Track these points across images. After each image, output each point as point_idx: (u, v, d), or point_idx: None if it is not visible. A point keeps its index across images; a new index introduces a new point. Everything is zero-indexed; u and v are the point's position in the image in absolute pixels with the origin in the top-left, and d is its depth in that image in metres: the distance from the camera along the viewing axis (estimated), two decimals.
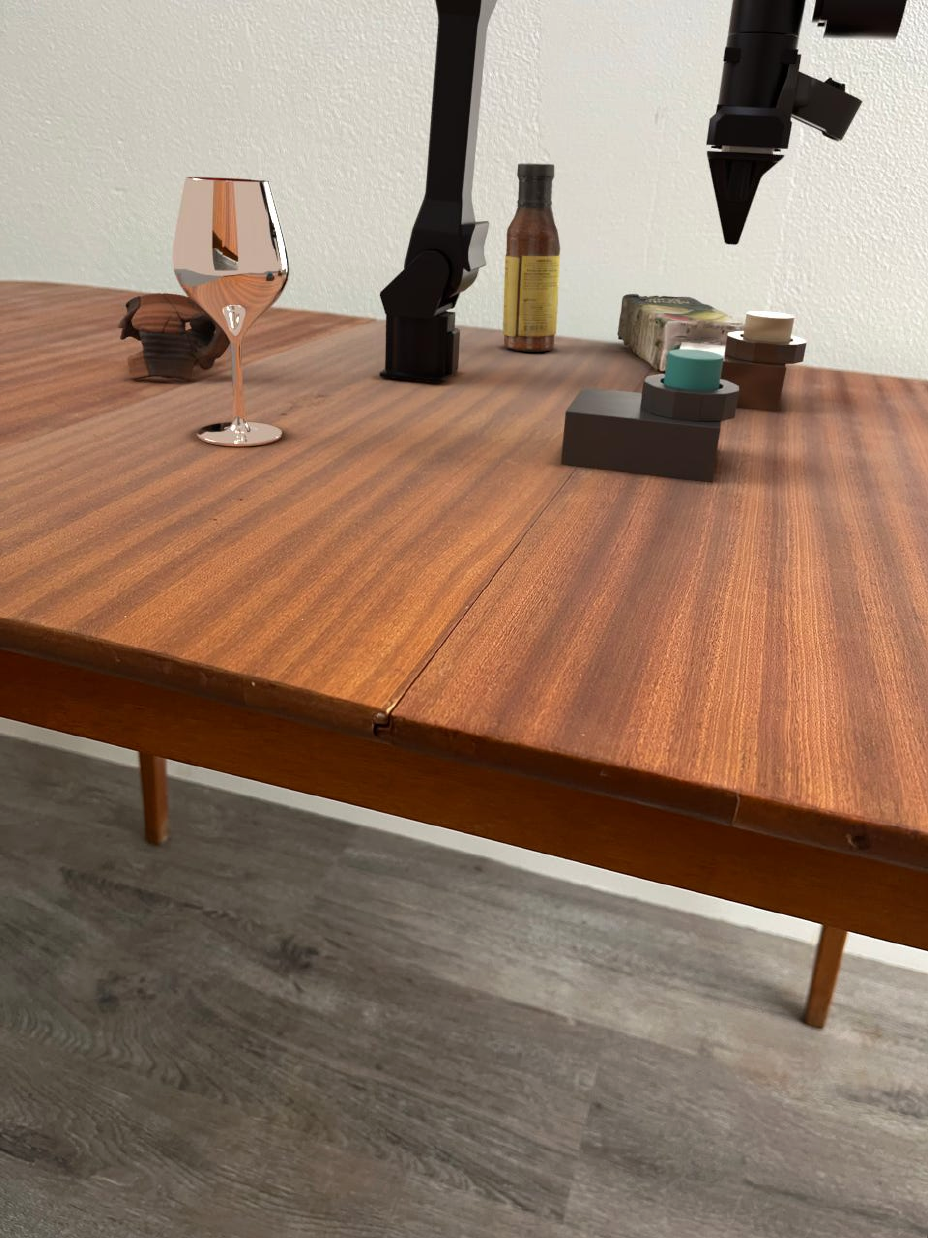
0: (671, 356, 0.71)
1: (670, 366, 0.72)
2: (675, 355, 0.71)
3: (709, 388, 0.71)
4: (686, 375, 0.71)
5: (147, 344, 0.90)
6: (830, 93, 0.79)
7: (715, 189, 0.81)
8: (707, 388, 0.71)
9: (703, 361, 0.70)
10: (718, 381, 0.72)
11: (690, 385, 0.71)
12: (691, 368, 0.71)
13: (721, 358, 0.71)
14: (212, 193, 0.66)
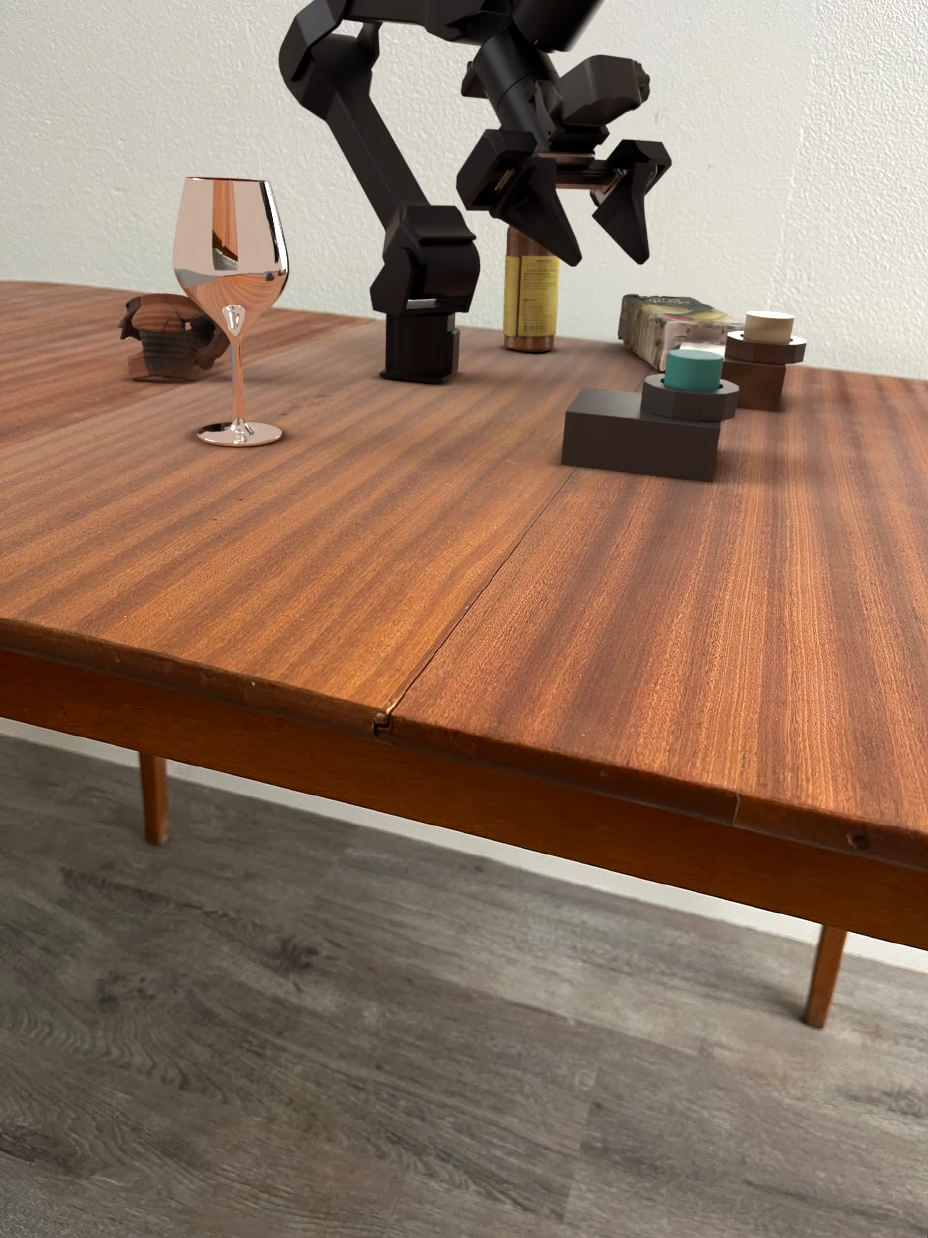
0: (671, 356, 0.71)
1: (670, 366, 0.72)
2: (675, 355, 0.71)
3: (709, 388, 0.71)
4: (686, 375, 0.71)
5: (147, 344, 0.90)
6: (569, 78, 0.73)
7: (526, 234, 0.76)
8: (707, 388, 0.71)
9: (703, 361, 0.70)
10: (718, 381, 0.72)
11: (690, 385, 0.71)
12: (691, 368, 0.71)
13: (721, 358, 0.71)
14: (211, 193, 0.66)
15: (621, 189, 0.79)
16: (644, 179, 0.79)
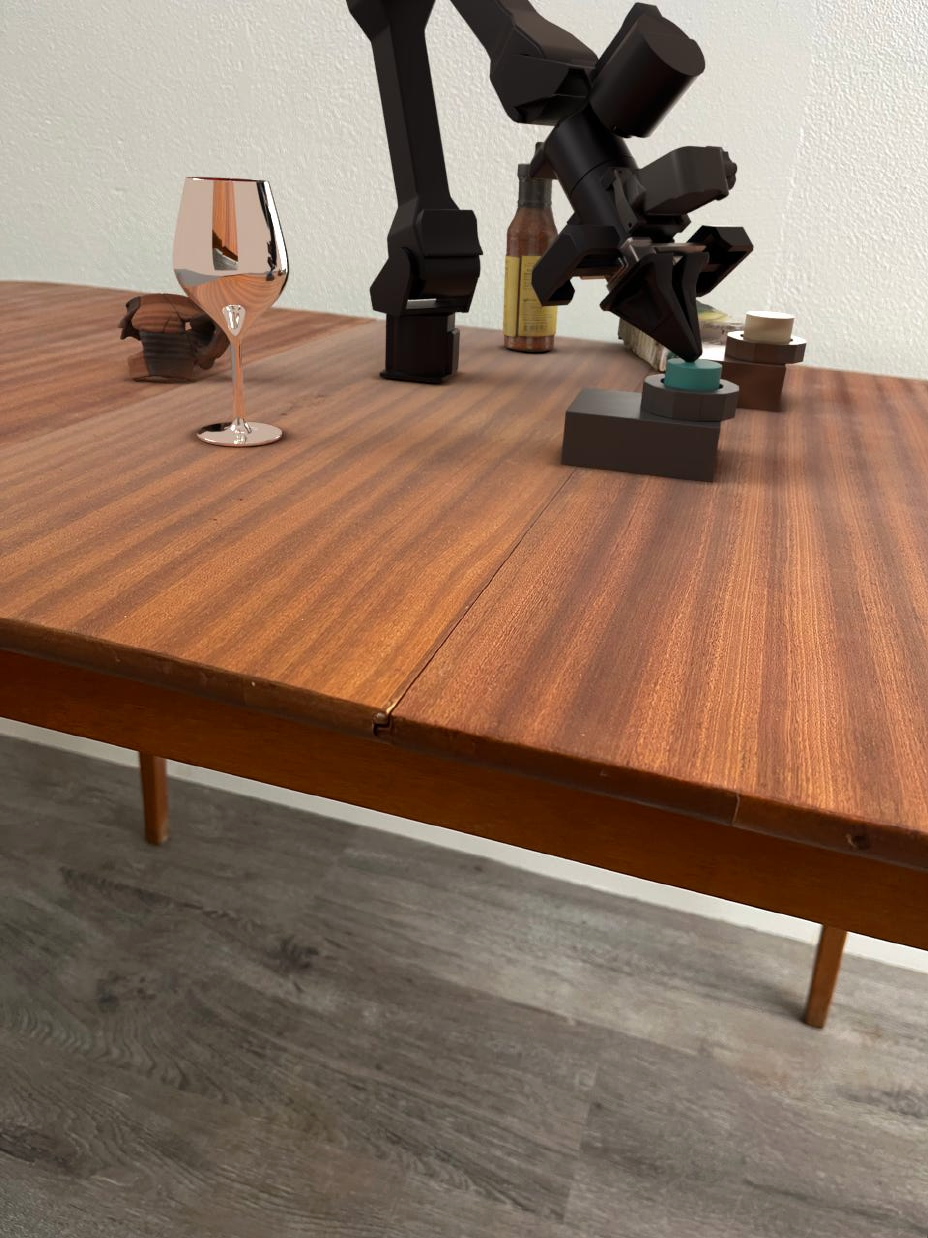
0: (670, 365, 0.72)
1: (669, 375, 0.72)
2: (674, 364, 0.72)
3: None
4: (685, 384, 0.71)
5: (147, 344, 0.90)
6: (653, 169, 0.68)
7: (638, 328, 0.74)
8: None
9: (701, 370, 0.71)
10: None
11: None
12: (690, 377, 0.71)
13: (720, 367, 0.71)
14: (211, 193, 0.66)
15: None
16: (696, 269, 0.73)
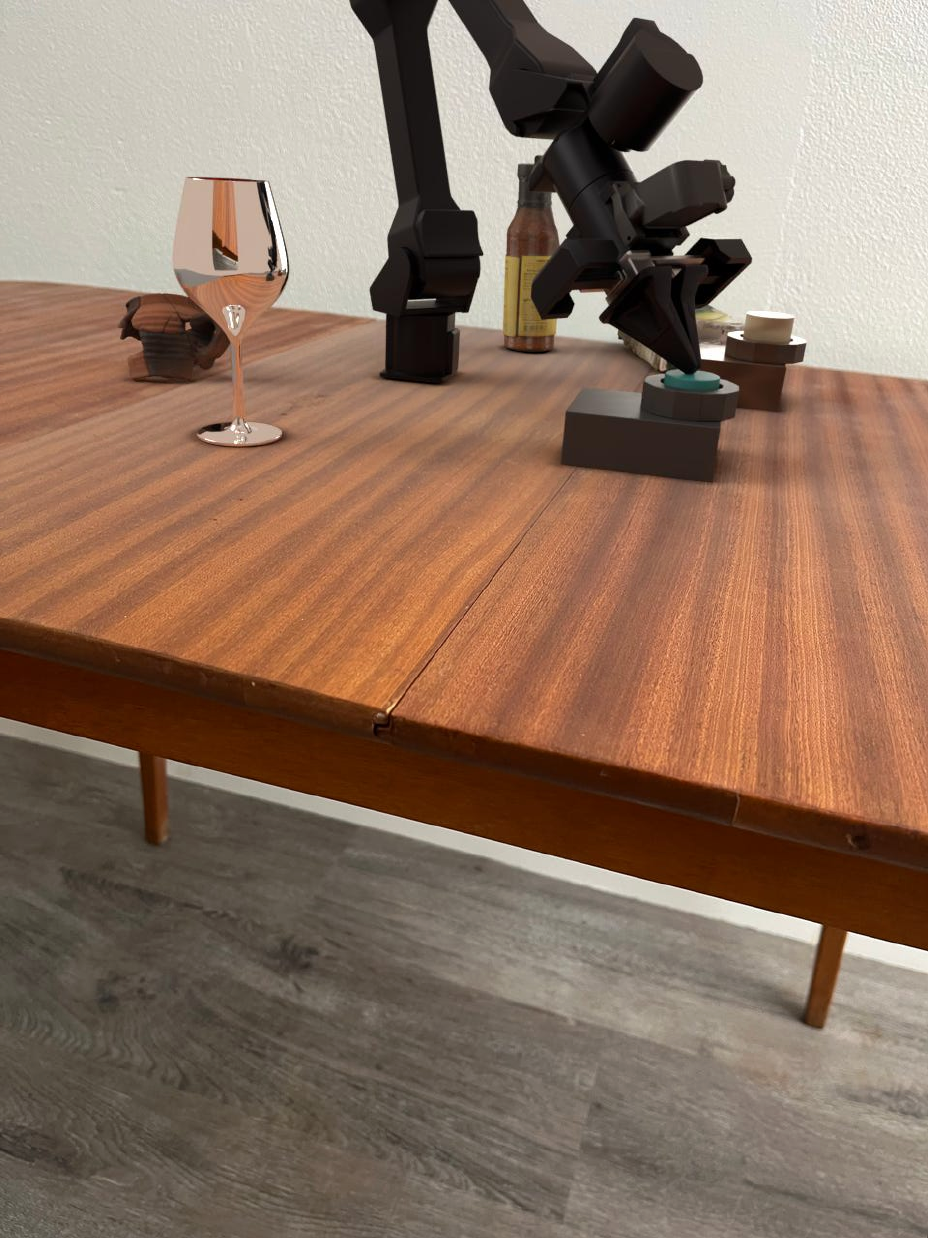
0: (668, 377, 0.72)
1: None
2: (672, 376, 0.72)
3: None
4: None
5: (147, 344, 0.90)
6: (652, 183, 0.69)
7: (638, 340, 0.74)
8: None
9: (700, 382, 0.71)
10: None
11: None
12: None
13: (718, 379, 0.72)
14: (211, 193, 0.66)
15: None
16: (694, 281, 0.73)
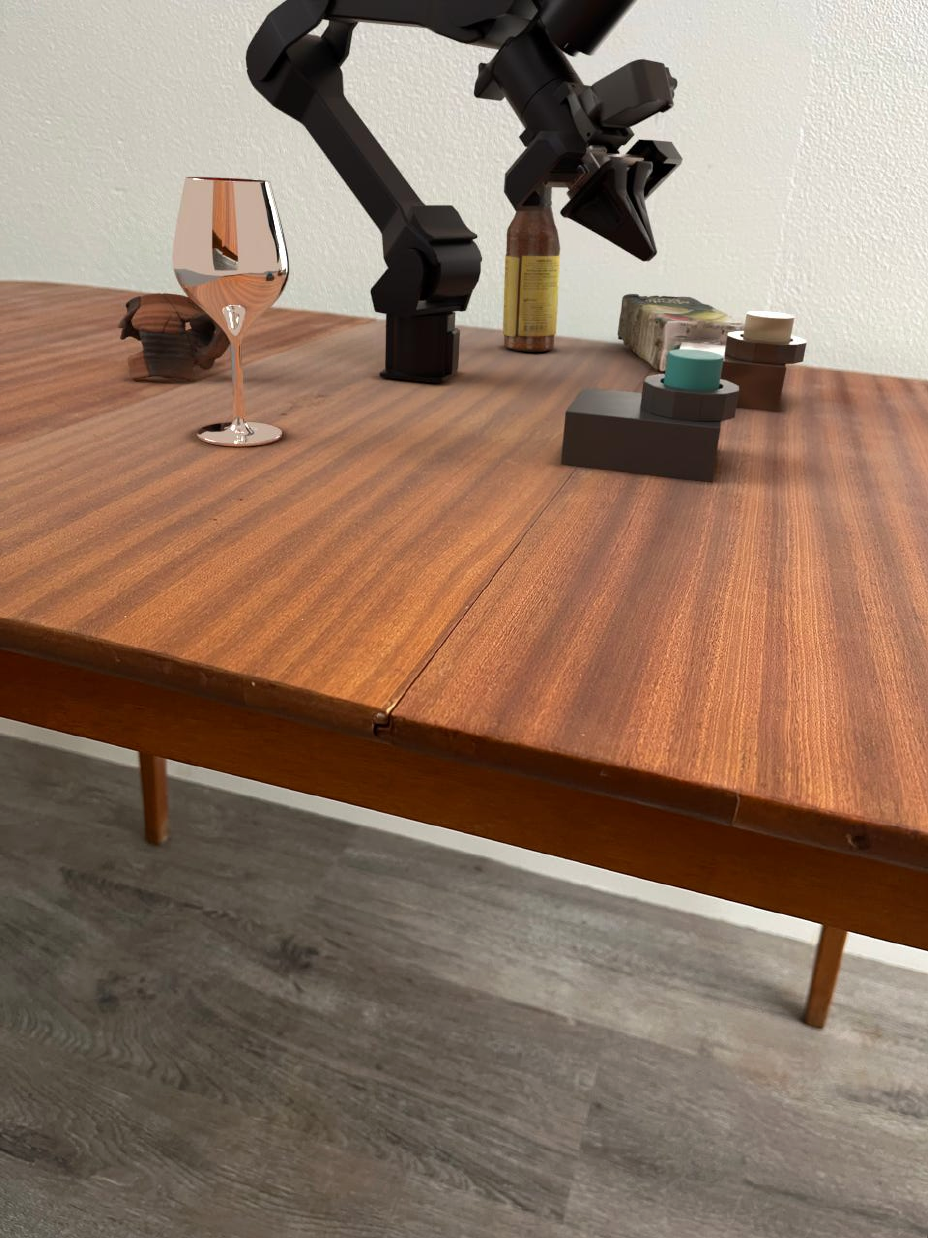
0: (671, 356, 0.71)
1: (670, 366, 0.72)
2: (675, 355, 0.71)
3: (709, 388, 0.71)
4: (686, 375, 0.71)
5: (147, 344, 0.90)
6: (610, 81, 0.75)
7: (597, 232, 0.80)
8: (707, 388, 0.71)
9: (703, 361, 0.70)
10: (718, 381, 0.72)
11: (690, 385, 0.71)
12: (691, 368, 0.71)
13: (721, 358, 0.71)
14: (211, 193, 0.66)
15: None
16: (643, 177, 0.80)
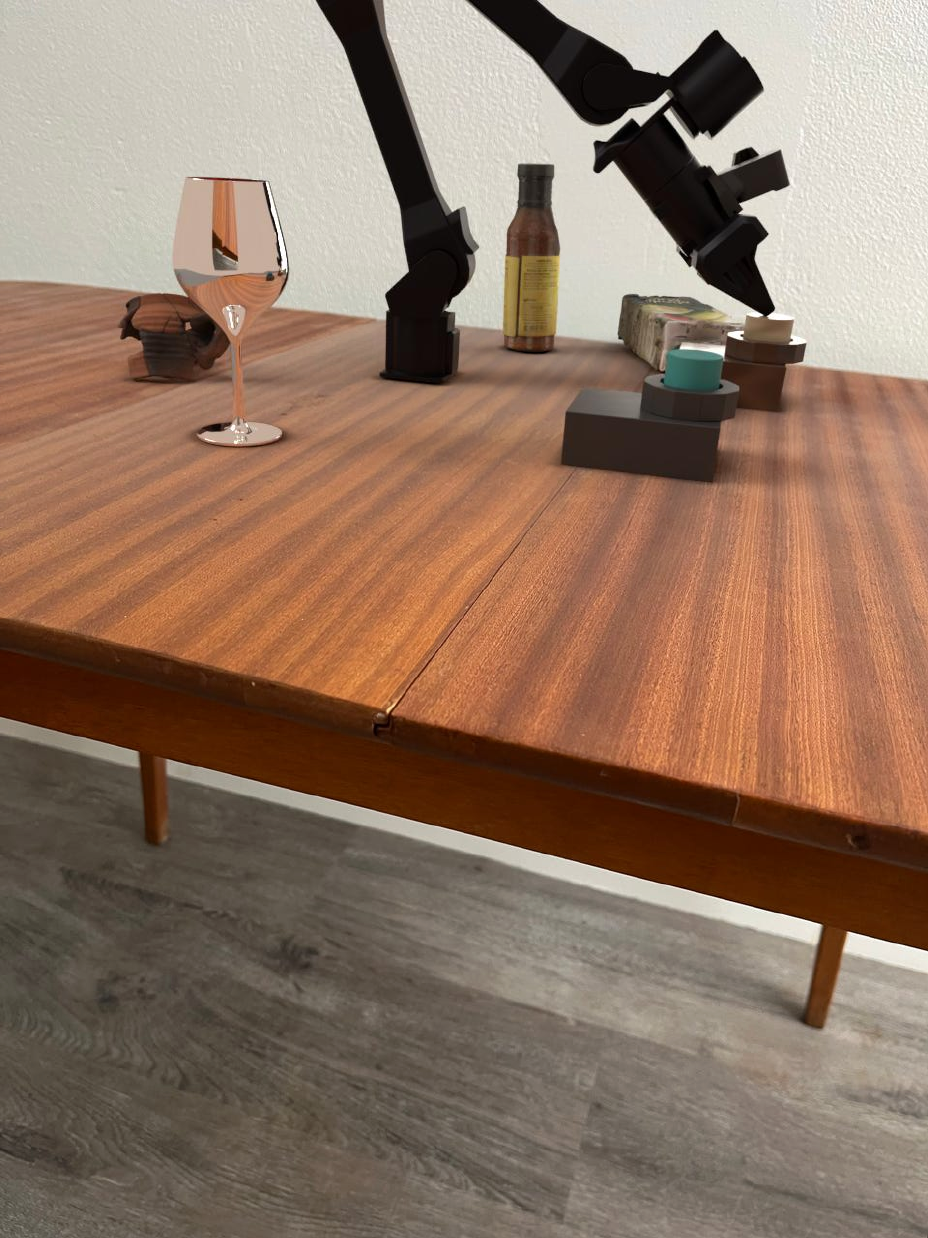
0: (671, 356, 0.71)
1: (670, 366, 0.72)
2: (675, 355, 0.71)
3: (709, 388, 0.71)
4: (686, 375, 0.71)
5: (147, 344, 0.90)
6: (754, 167, 0.87)
7: (729, 294, 0.92)
8: (707, 388, 0.71)
9: (703, 361, 0.70)
10: (718, 381, 0.72)
11: (690, 385, 0.71)
12: (691, 368, 0.71)
13: (721, 358, 0.71)
14: (211, 193, 0.66)
15: None
16: None
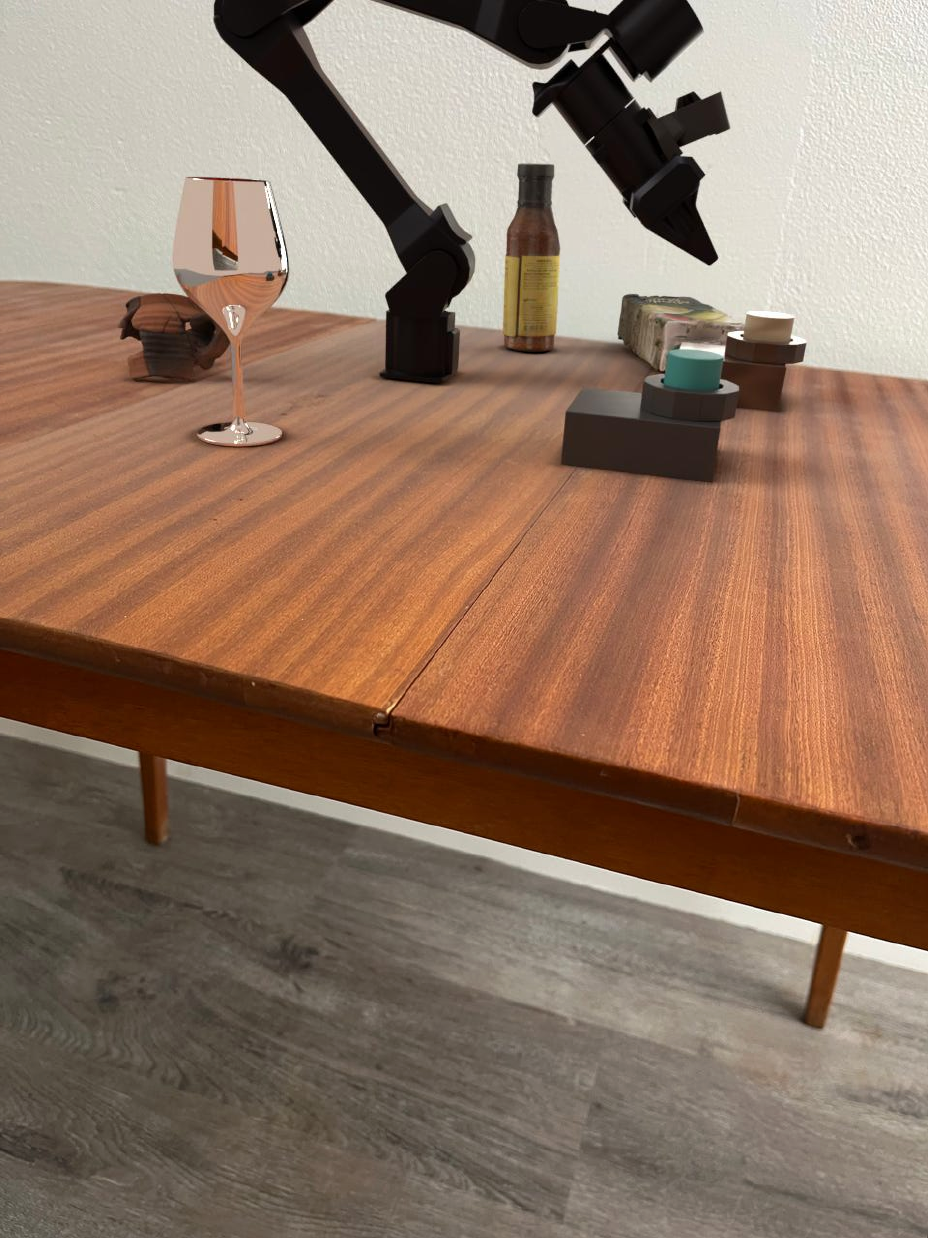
0: (671, 356, 0.71)
1: (670, 366, 0.72)
2: (675, 355, 0.71)
3: (709, 388, 0.71)
4: (686, 375, 0.71)
5: (147, 344, 0.90)
6: (694, 109, 0.85)
7: (671, 242, 0.90)
8: (707, 388, 0.71)
9: (703, 361, 0.70)
10: (718, 381, 0.72)
11: (690, 385, 0.71)
12: (691, 368, 0.71)
13: (721, 358, 0.71)
14: (211, 193, 0.66)
15: None
16: None
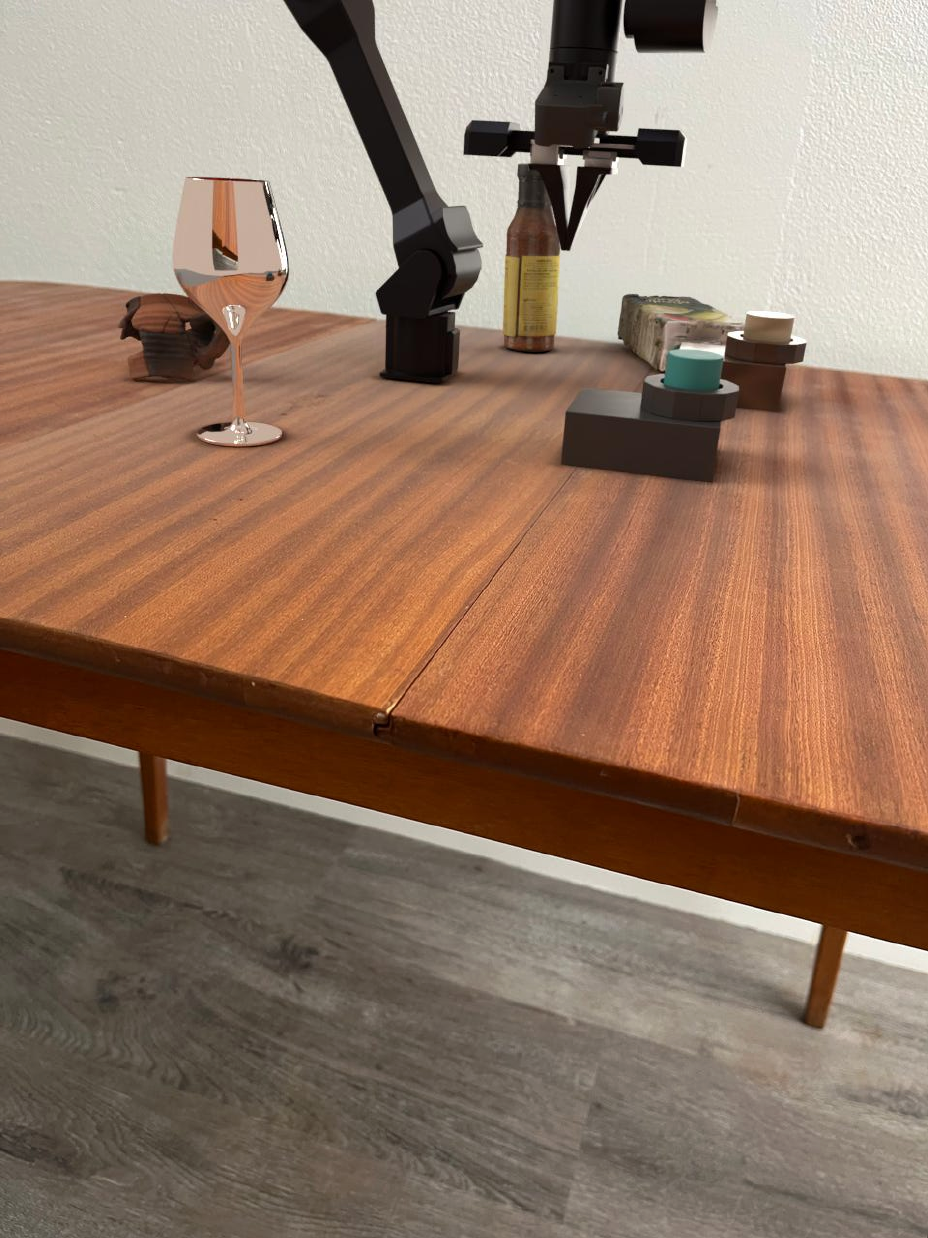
0: (671, 356, 0.71)
1: (670, 366, 0.72)
2: (675, 355, 0.71)
3: (709, 388, 0.71)
4: (686, 375, 0.71)
5: (147, 344, 0.90)
6: None
7: None
8: (707, 388, 0.71)
9: (703, 361, 0.70)
10: (718, 381, 0.72)
11: (690, 385, 0.71)
12: (691, 368, 0.71)
13: (721, 358, 0.71)
14: (211, 193, 0.66)
15: None
16: (591, 178, 0.84)
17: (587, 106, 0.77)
